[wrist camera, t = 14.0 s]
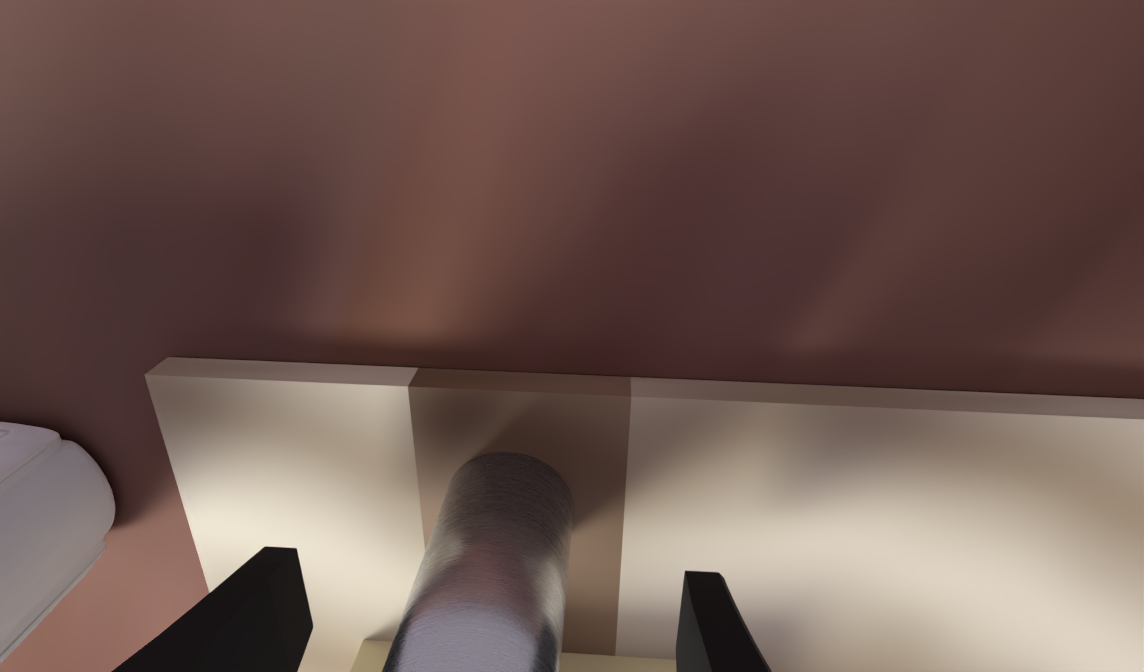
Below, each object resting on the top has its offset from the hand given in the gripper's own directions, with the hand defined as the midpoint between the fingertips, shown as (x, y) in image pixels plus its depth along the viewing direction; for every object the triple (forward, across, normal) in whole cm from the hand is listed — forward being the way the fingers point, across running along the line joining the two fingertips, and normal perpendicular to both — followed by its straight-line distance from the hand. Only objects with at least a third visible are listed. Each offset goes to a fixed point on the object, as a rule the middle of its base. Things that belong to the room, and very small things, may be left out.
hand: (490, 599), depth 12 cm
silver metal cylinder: (+2, 0, 0) cm, 3 cm away
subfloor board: (+3, -6, +6) cm, 9 cm away
